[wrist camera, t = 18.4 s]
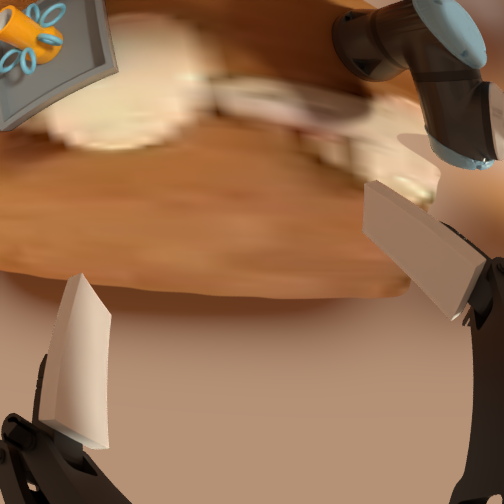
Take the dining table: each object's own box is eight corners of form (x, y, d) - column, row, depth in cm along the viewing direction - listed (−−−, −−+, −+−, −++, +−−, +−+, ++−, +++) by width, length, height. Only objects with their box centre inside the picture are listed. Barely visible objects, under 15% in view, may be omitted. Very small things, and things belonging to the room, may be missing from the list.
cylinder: (77, 69, 26) (33, 43, 13) (21, 93, 24) (-35, 85, 11) (79, 6, 21) (48, -36, 7) (24, 30, 18) (-21, 5, 5)
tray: (102, -20, 20) (98, -30, 17) (118, 71, 29) (114, 66, 26) (0, 37, 17) (-9, 33, 14) (11, 130, 26) (0, 131, 23)
